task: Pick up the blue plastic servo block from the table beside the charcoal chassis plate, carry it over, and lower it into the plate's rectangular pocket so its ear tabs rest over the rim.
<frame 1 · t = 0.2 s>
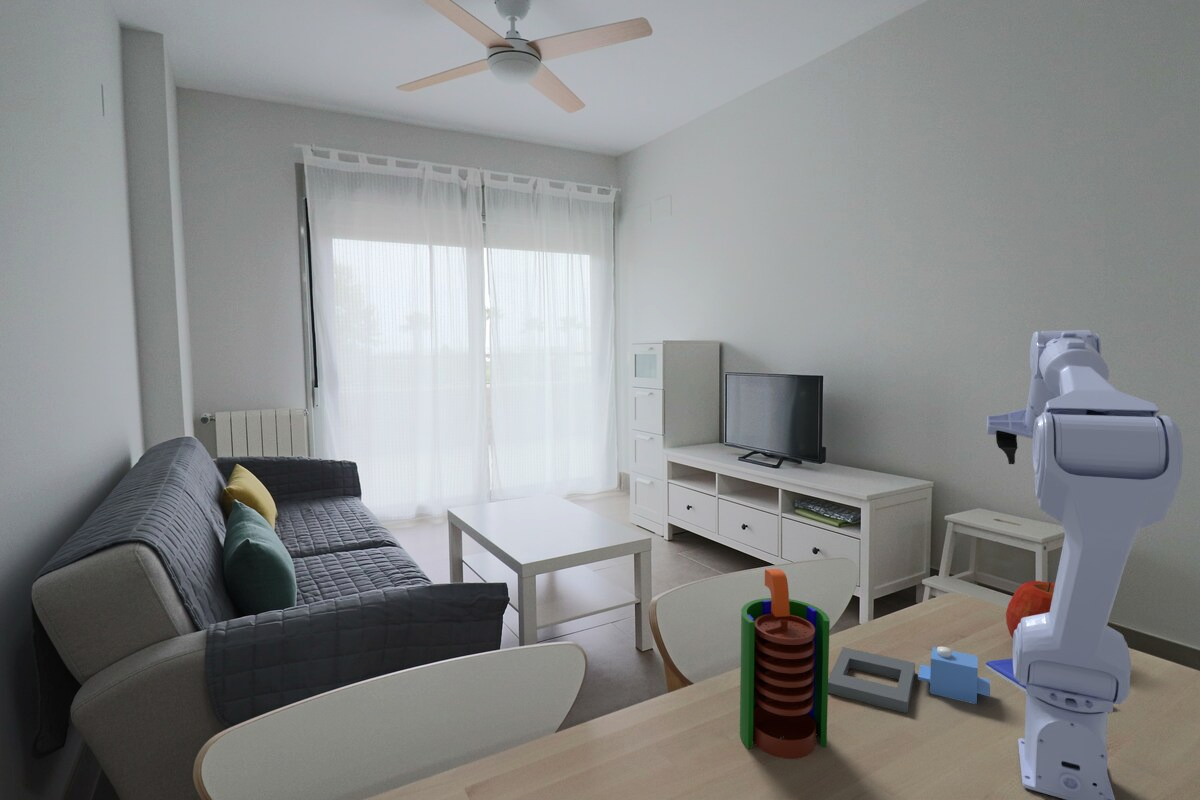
hand: (1042, 459, 91), 31 cm above the table, tool tilted 45°, fingers open, 7 cm apart
hard drive: (1045, 691, 87), on the table
motor: (779, 737, 77), on the table
servo: (953, 692, 86), on the table
apple: (1044, 648, 99), on the table
chassis board: (872, 682, 89), on the table
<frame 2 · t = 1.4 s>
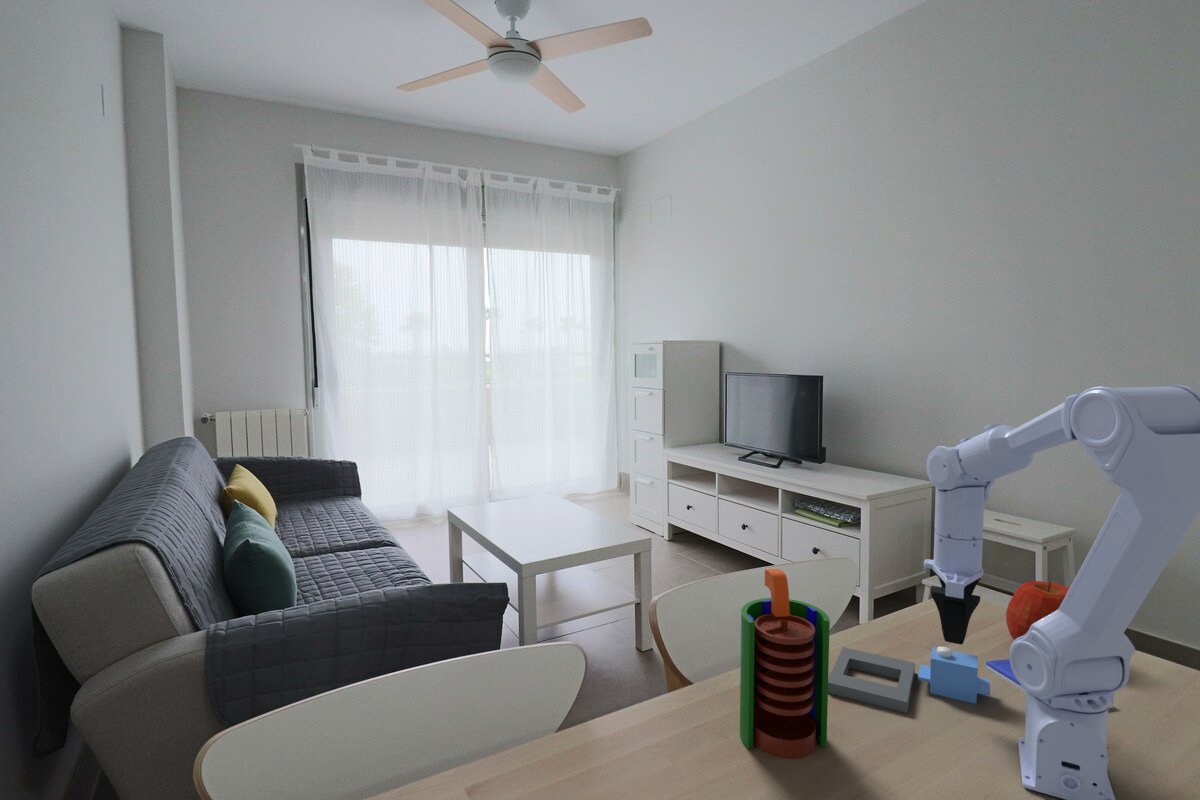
hand: (955, 631, 86), 9 cm above the table, tool pointing down, fingers open, 7 cm apart
nothing on the table moved.
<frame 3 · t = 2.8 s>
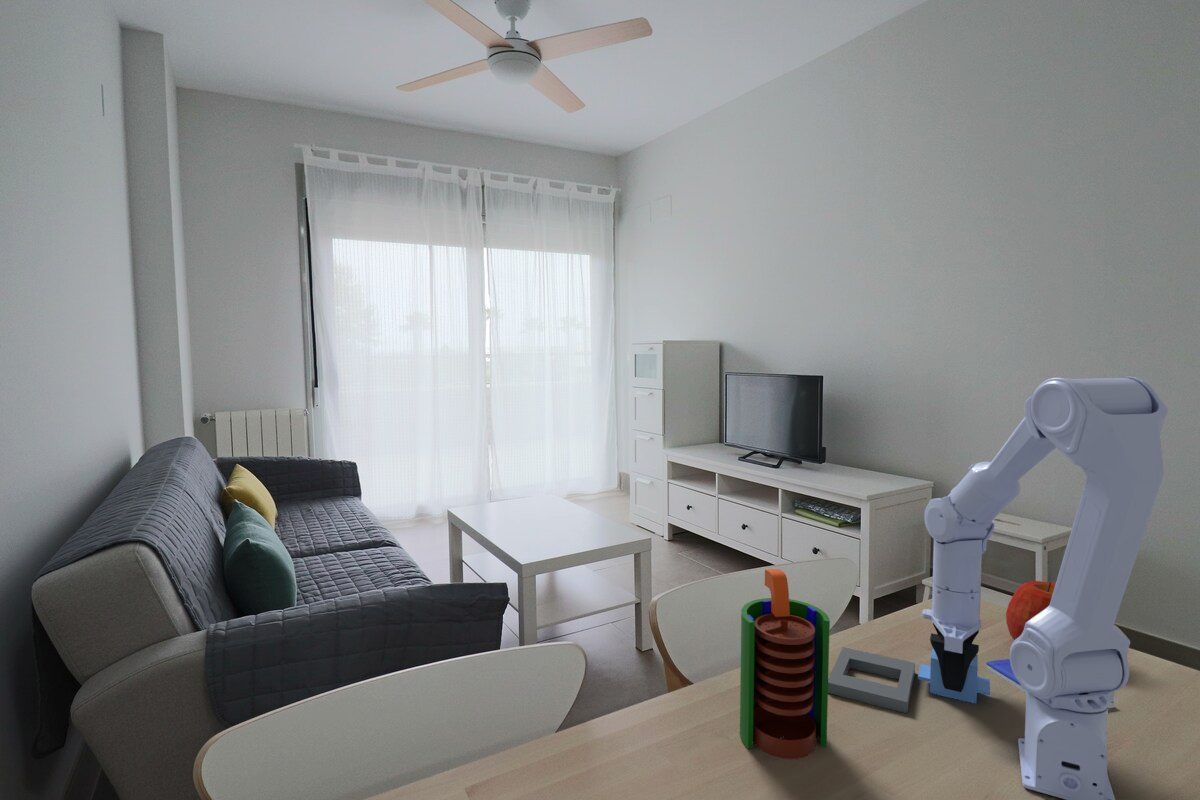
hand: (953, 681, 86), 1 cm above the table, tool pointing down, fingers closed on servo, 4 cm apart
servo: (953, 691, 86), on the table, touching gripper
everything else where it was.
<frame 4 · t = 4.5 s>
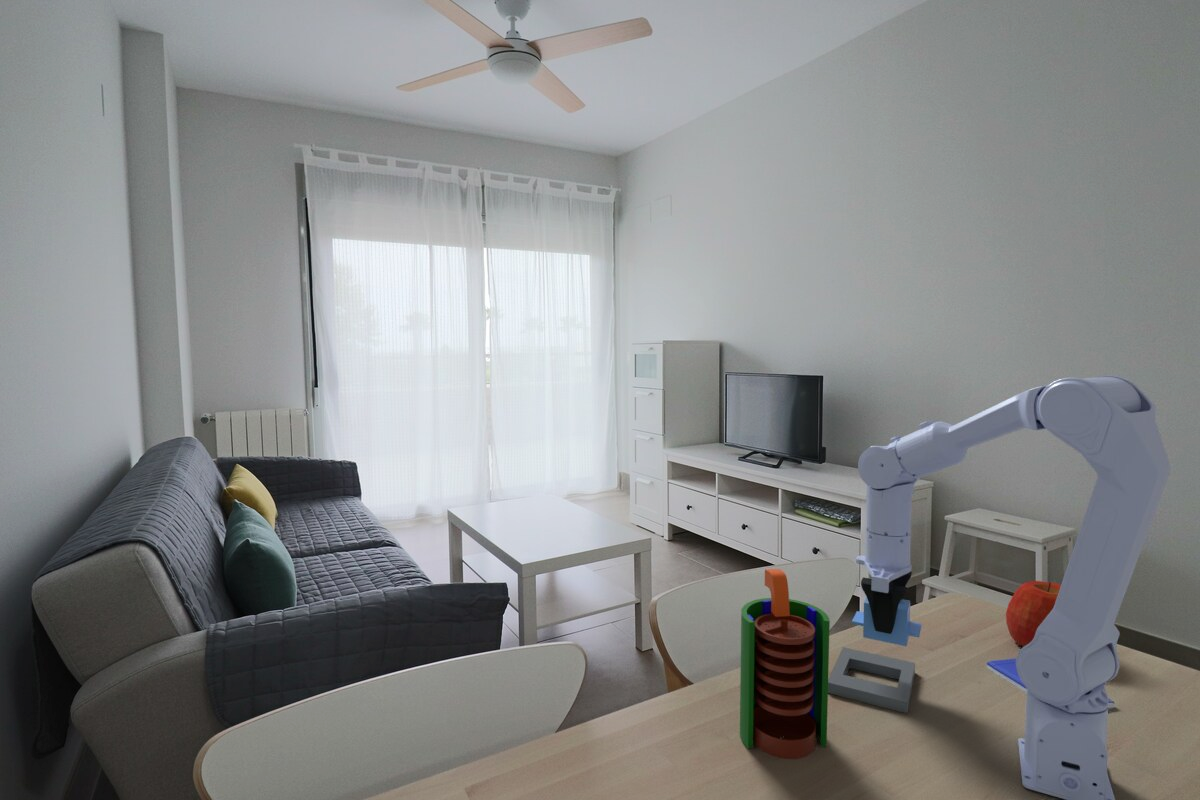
hand: (885, 625, 88), 8 cm above the table, tool pointing down, fingers closed on servo, 4 cm apart
servo: (886, 636, 88), point 7 cm above the table, touching gripper
everything else where it was.
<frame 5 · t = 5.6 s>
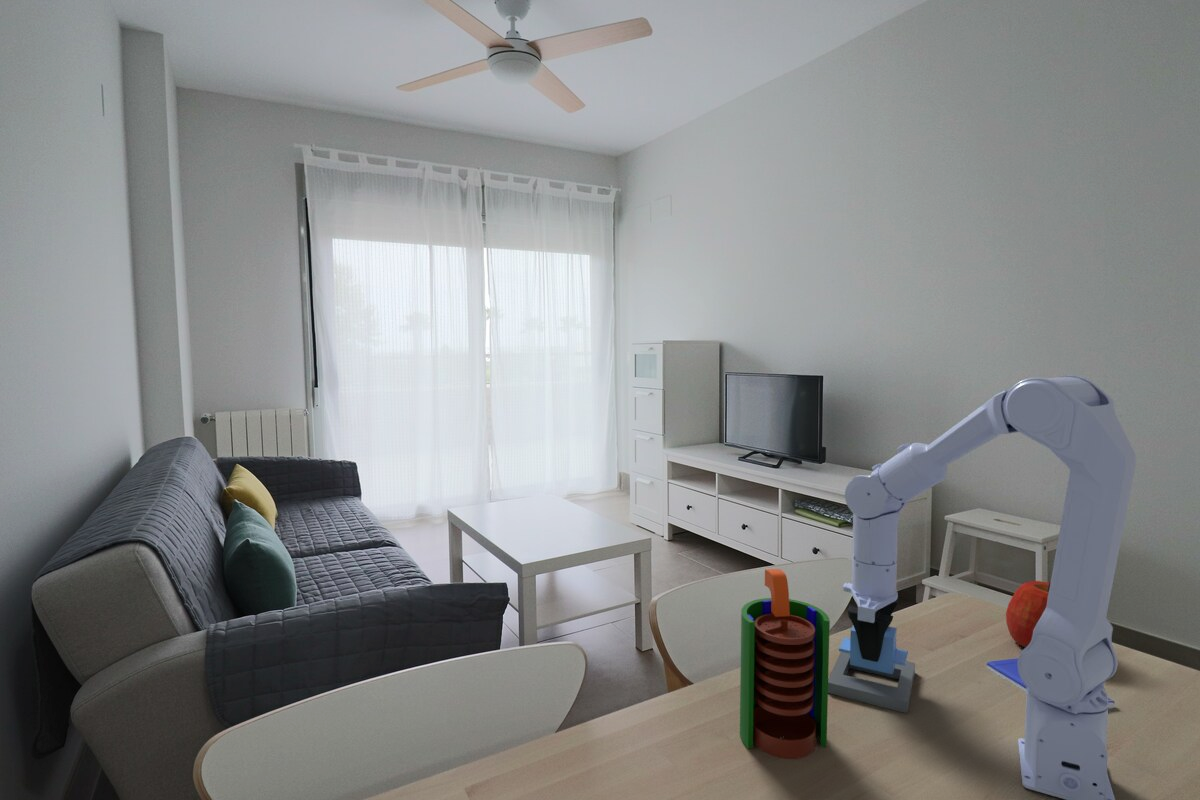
hand: (872, 652, 88), 4 cm above the table, tool pointing down, fingers closed on servo, 4 cm apart
servo: (873, 663, 88), point 3 cm above the table, touching gripper
everything else where it was.
when the fingers open (2 cm above the table, at t = 6.5 s): servo stays where it is, resting on chassis board.
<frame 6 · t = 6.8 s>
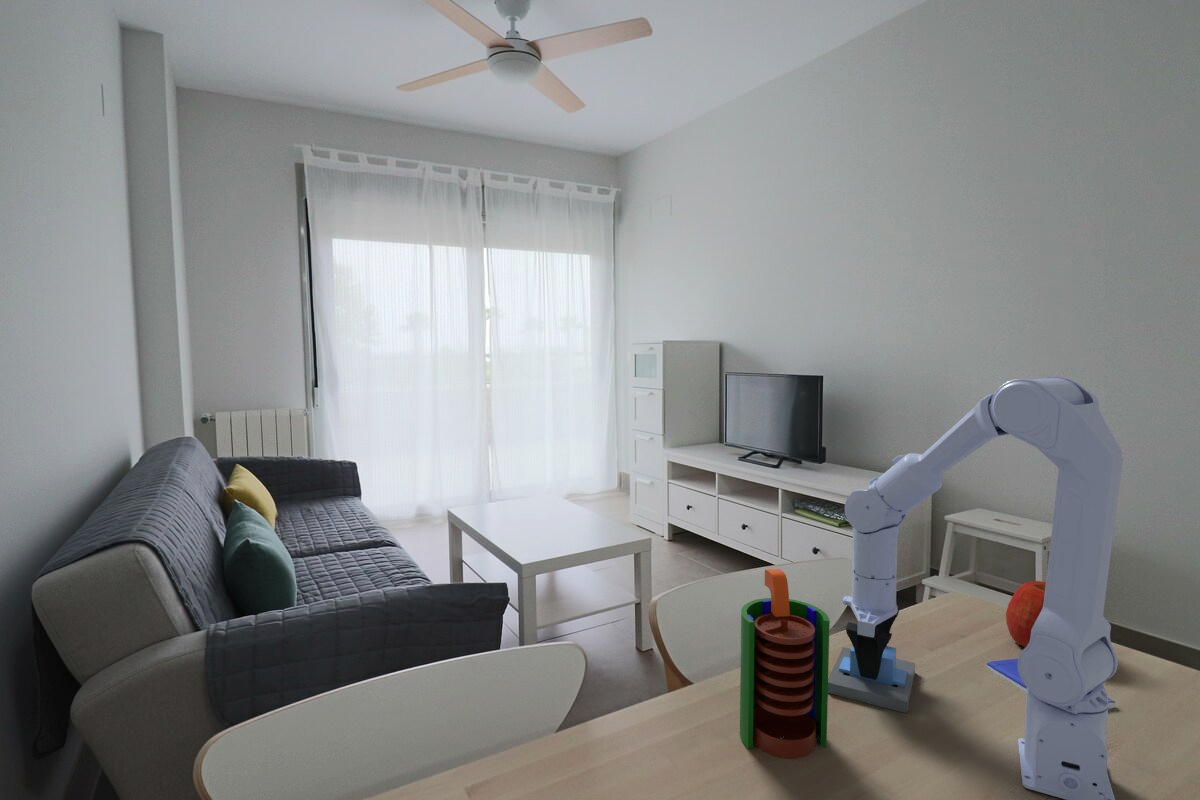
hand: (872, 666, 89), 2 cm above the table, tool pointing down, fingers open, 6 cm apart
servo: (872, 683, 89), resting on chassis board
everything else where it was.
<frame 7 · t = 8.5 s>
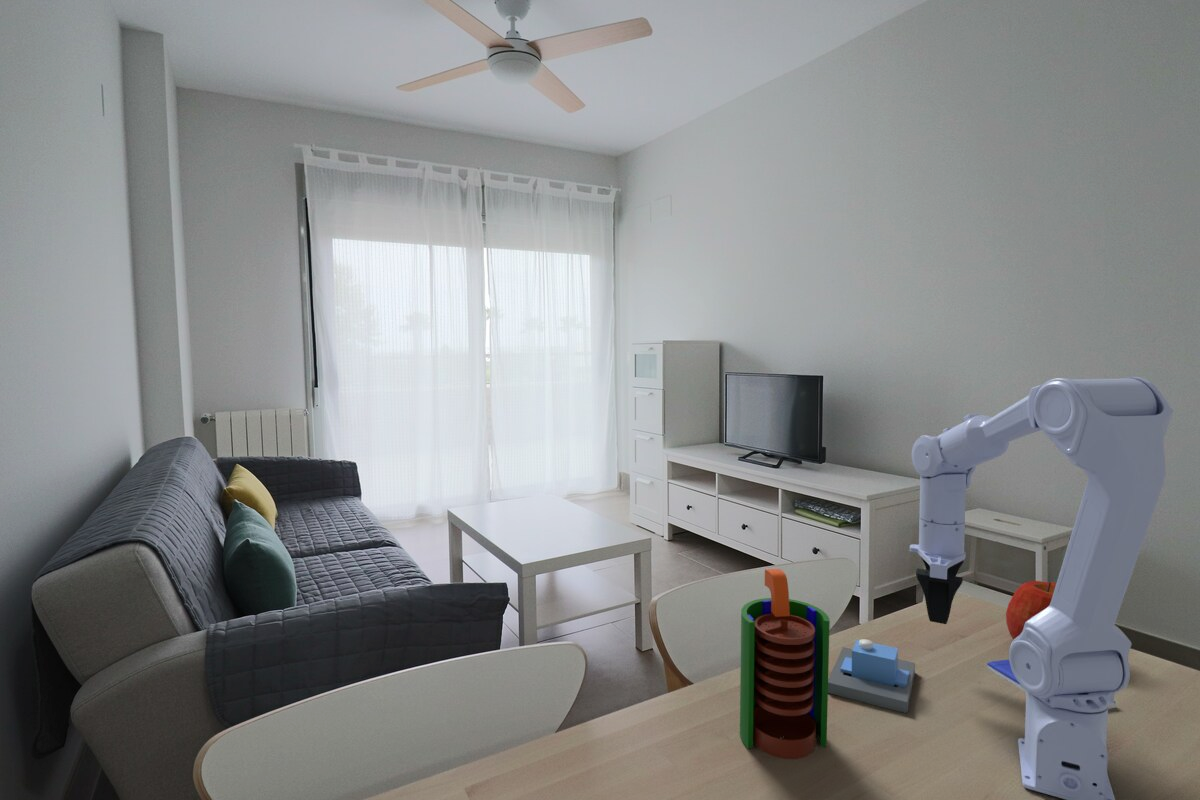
hand: (939, 612, 90), 9 cm above the table, tool pointing down, fingers open, 7 cm apart
nothing on the table moved.
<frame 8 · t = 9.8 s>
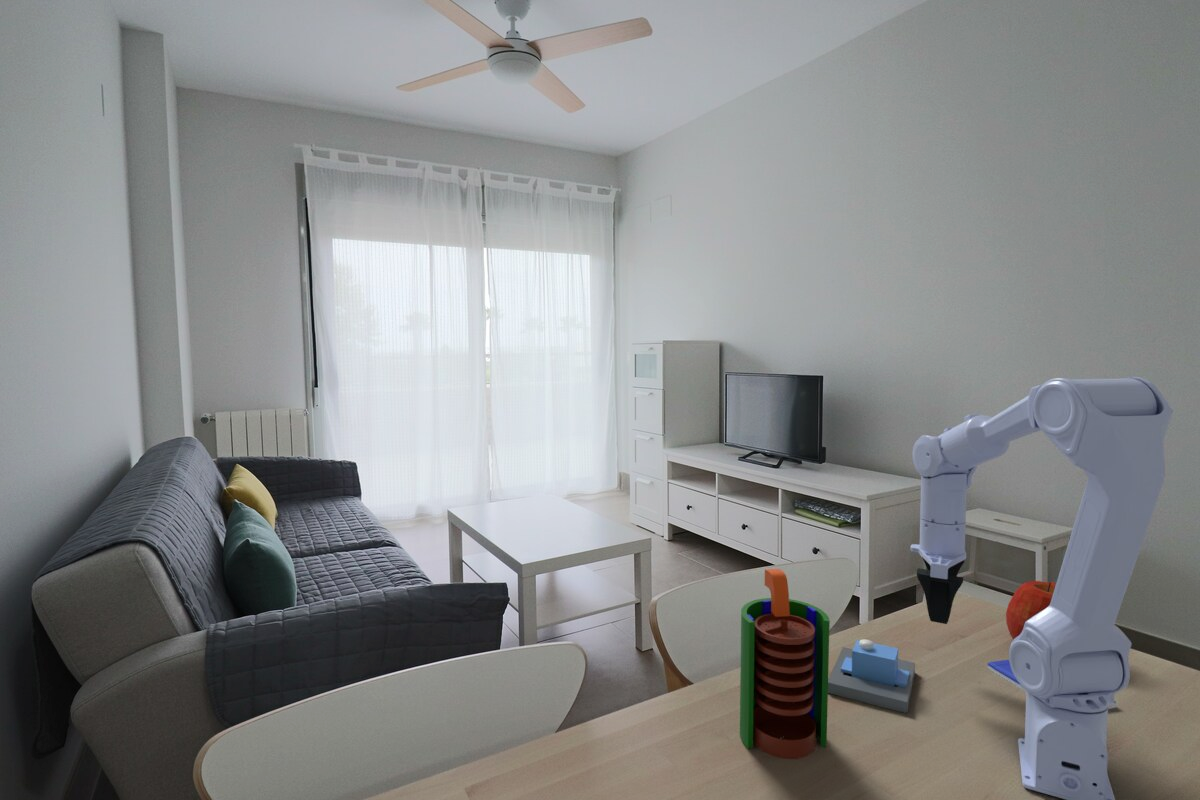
hand: (940, 612, 90), 9 cm above the table, tool pointing down, fingers open, 7 cm apart
nothing on the table moved.
at the end: servo 0.3 cm off-centre on the chassis board, point 0.0 cm above the chassis board's base; servo tilted 0°; the gripper is holding nothing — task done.
